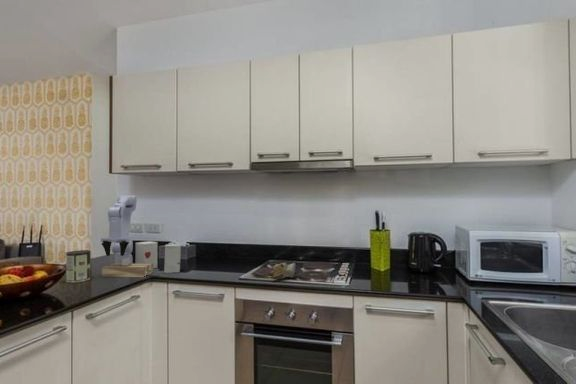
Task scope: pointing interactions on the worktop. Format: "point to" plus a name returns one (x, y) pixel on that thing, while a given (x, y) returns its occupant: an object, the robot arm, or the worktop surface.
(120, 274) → the block
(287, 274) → the ceramic sculpture
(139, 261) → the supplement box
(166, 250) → the skincare box
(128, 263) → the bracket plate
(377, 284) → the worktop surface
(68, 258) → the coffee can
